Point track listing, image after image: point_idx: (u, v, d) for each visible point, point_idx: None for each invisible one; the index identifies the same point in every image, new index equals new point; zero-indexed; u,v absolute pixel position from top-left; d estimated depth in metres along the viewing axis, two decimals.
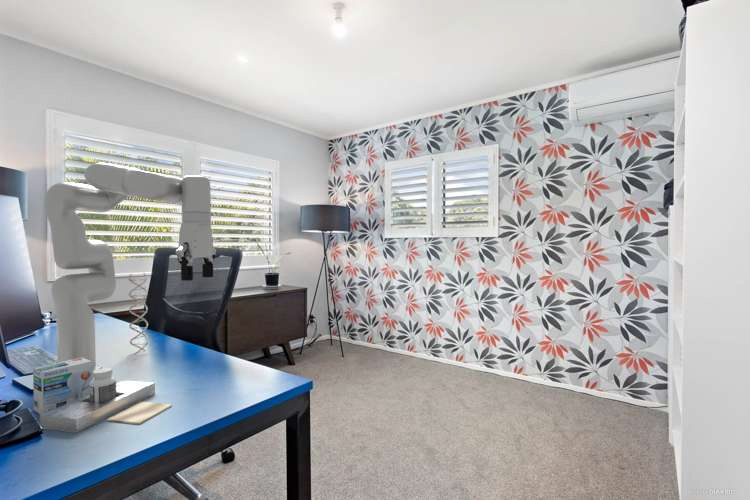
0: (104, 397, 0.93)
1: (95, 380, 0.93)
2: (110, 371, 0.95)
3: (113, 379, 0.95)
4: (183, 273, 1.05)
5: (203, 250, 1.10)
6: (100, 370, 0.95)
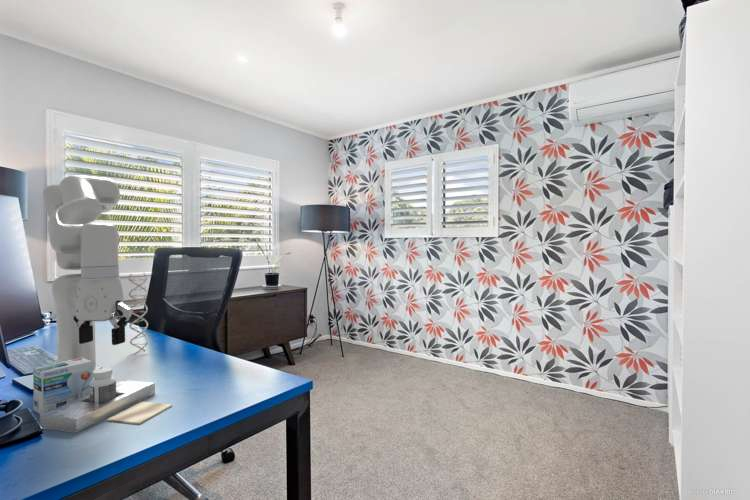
0: (104, 397, 0.93)
1: (95, 380, 0.93)
2: (110, 371, 0.95)
3: (113, 379, 0.95)
4: (120, 336, 0.93)
5: None
6: (100, 370, 0.95)
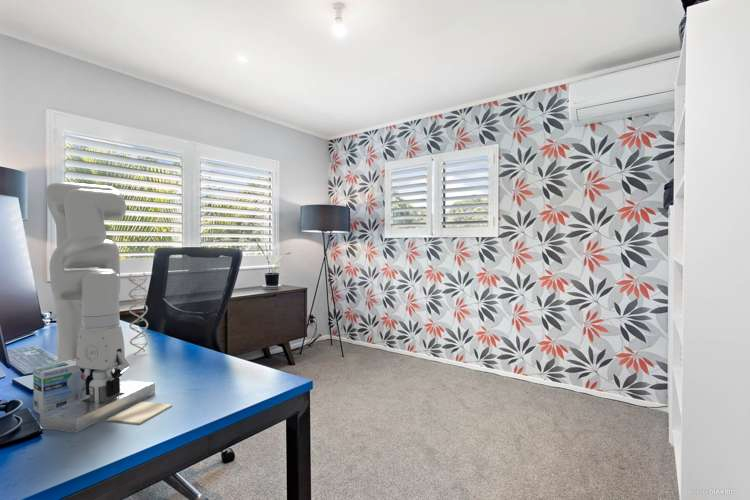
0: (104, 397, 0.93)
1: (95, 380, 0.93)
2: None
3: None
4: (114, 387, 0.94)
5: None
6: (100, 370, 0.95)
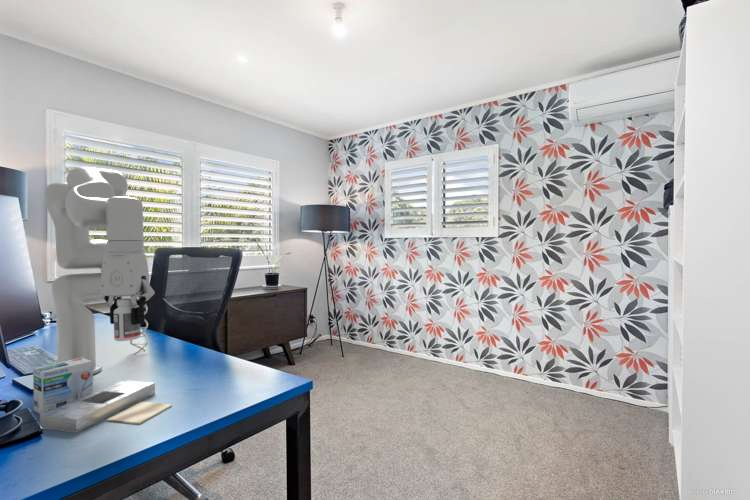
0: (129, 325, 0.91)
1: (119, 307, 0.91)
2: None
3: None
4: (139, 315, 0.92)
5: None
6: (124, 298, 0.93)
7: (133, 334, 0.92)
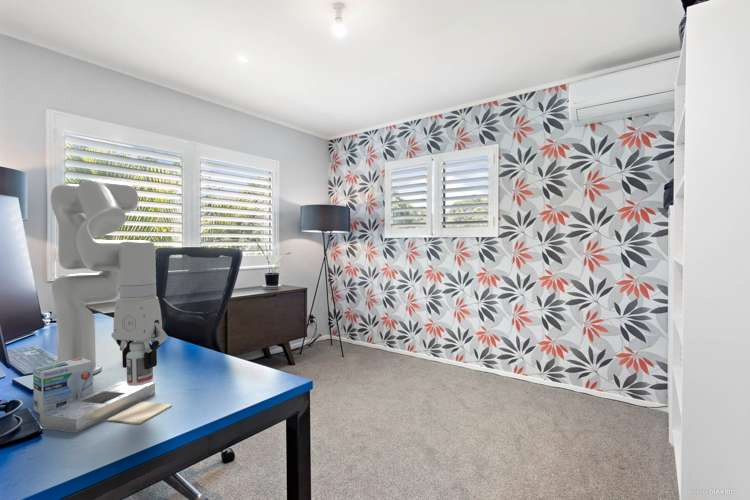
0: (142, 369, 0.91)
1: (132, 352, 0.91)
2: None
3: None
4: (152, 359, 0.91)
5: None
6: (137, 342, 0.92)
7: (146, 378, 0.91)
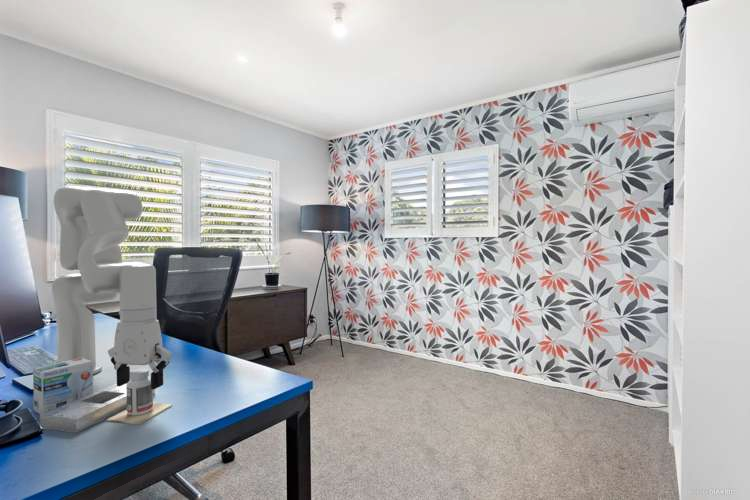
0: (142, 399, 0.91)
1: (132, 381, 0.91)
2: (147, 372, 0.93)
3: (150, 380, 0.93)
4: (159, 379, 0.91)
5: None
6: (137, 371, 0.93)
7: (146, 407, 0.92)
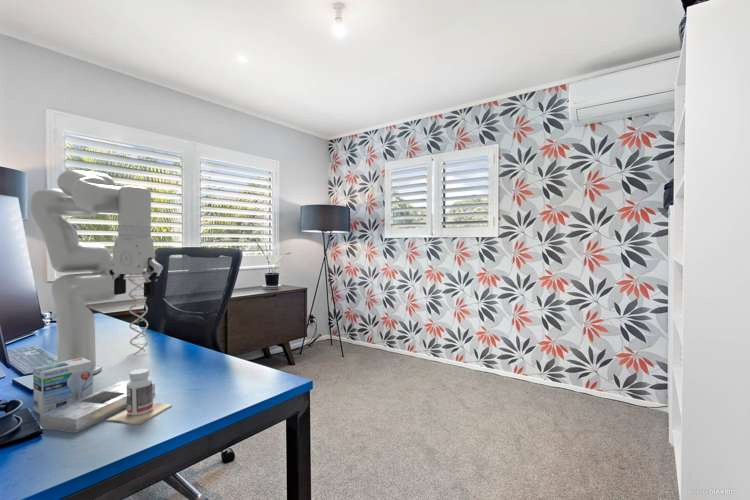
0: (142, 399, 0.91)
1: (132, 381, 0.91)
2: (147, 372, 0.93)
3: (150, 380, 0.93)
4: (151, 289, 1.03)
5: None
6: (137, 371, 0.93)
7: (146, 407, 0.92)
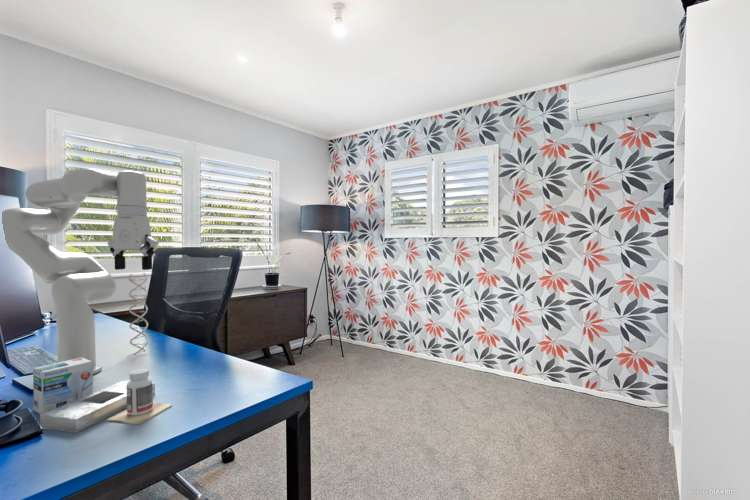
0: (142, 399, 0.91)
1: (132, 381, 0.91)
2: (147, 372, 0.93)
3: (150, 380, 0.93)
4: (148, 263, 1.15)
5: None
6: (137, 371, 0.93)
7: (146, 407, 0.92)
